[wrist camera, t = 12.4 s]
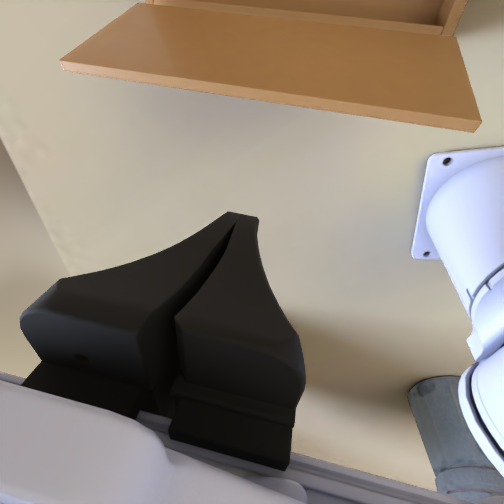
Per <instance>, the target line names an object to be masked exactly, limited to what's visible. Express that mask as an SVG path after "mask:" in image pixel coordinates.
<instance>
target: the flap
mask: <svg viewBox="0 0 504 504" xmlns="http://www.w3.org/2000/svg"><path fill="white" fill-rule="evenodd" d="M59 61H60V63H61V65H62V67H63V69H64V70H65V71H68V72H75V73H81V74H88V75H95V76H101V77H108V78H115V79H121V80H128V81H134V82H141V83H148V84H154V85H161V86H167V87H174V88H181V89H187V90H194V91H200V92H207V93H214V94H220V95H227V96H234V97H240V98H247V99H253V100H260V101H267V102H273V103H280V104H286V105H293V106H300V107H306V108H313V109H319V110H326V111H333V112H339V113H346V114H353V115H359V116H366V117H372V118H379V119H386V120H392V121H399V122H405V123H412V124H419V125H425V126H432V127H438V128H445V129H452V130H458V131H465V132H472V133H474V132H475V131H476V129H477V128H478V127H479V125H480V124H481V123H482V120H481V117H480V113H479V110H478V107H477V104H476V100H475V97H474V94H473V91H472V87H471V84H470V81H469V78H468V74H467V71H466V68H465V64H464V61H463V58H462V55H461V51H460V48H459V45H458V42H457V38H456V37H450V36H441V35H431V34H422V33H413V32H404V31H394V30H385V29H376V28H367V27H358V26H348V25H339V24H330V23H321V22H311V21H302V20H293V19H284V18H274V17H265V16H256V15H247V14H237V13H228V12H219V11H210V10H201V9H191V8H182V7H173V6H164V5H154V4H145V3H137V4H136V5H134V6H133V7H132V8H130V9H129V10H127V11H126V12H125V13H123V14H122V15H121V16H119V17H118V18H116V19H115V20H114V21H112V22H111V23H110V24H108V25H107V26H105V27H104V28H103V29H101V30H100V31H99V32H97V33H96V34H94V35H93V36H92V37H90V38H89V39H88V40H86V41H85V42H83V43H82V44H81V45H79V46H78V47H77V48H75V49H74V50H72V51H71V52H70V53H68V54H67V55H66V56H64V57H63V58H61V59H60V60H59Z"/></svg>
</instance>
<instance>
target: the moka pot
mask: <svg viewBox="0 0 504 504" xmlns="http://www.w3.org/2000/svg"><path fill="white" fill-rule="evenodd" d="M460 379H461V377H458V376H443V377H435V378H431V379H428V380H425V381H422V382H420V383H418V384H416V385H415V386H414V387H413V388H412V389H411V390H410V392H409V393H408V396H407V398H408V401H409V404H410V407H411V410H412V413H413V416H414V418H415V421H416V424H417V427H418V429H419V432H420V435H421V438H422V441H423V443H424V446H425V449H426V452H427V454H428V457H429V460H430V463H431V466H432V468H433V471H434V473H435V476H436V479H435V482H436V487H437V492H439V493H442V494H446V495H449V496H453V497H457V498H460V499H464V500H468V501H471V502H475V503H478V502H479V501H480V500H482V499H484V498H487V497H491V496H504V477H503V476H502V475H501V474H500V472H499V471H498V470H497V469H496V467H495V466H494V465H493V464H492V463H491V461H490V460H489V459H488V458H487V456H486V455H485V453H484V452H483V450H482V449H481V447H480V446H479V444H478V443H477V441H476V440H475V438H474V436H473V434H472V432H471V431H470V429H469V427H468V425H467V422H466V420H465V418H464V415H463V413H462V409H461V406H460V402H459V395H458V387H459V381H460Z"/></svg>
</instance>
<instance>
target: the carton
mask: <svg viewBox="0 0 504 504" xmlns="http://www.w3.org/2000/svg"><path fill="white" fill-rule="evenodd" d="M467 1H468V0H145V4H154V5H164V6H173V7H182V8H191V9H201V10H210V11H219V12H228V13H237V14H247V15H256V16H265V17H274V18H284V19H293V20H302V21H311V22H321V23H330V24H339V25H348V26H358V27H367V28H376V29H385V30H394V31H404V32H413V33H422V34H431V35H441V36H450V37H452V36H453V34H454V31H455V29H456V27H457V24H458V22H459V20H460V17H461V15H462V13H463V10H464V8H465V6H466V3H467Z"/></svg>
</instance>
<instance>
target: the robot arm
mask: <svg viewBox="0 0 504 504" xmlns="http://www.w3.org/2000/svg"><path fill="white" fill-rule="evenodd" d="M448 157H450V158H451V160H450V162H448V163H446V164H443V160H444V159H446V158H448ZM258 225H259V219H258V218H257V217H253V216H248V215H243V214H238V213H233V212H227V213H225V214H223V215H222V216H221V217H219V218H218V219H216V220H215V221H213V222H212V223H211V224H209V225H208V226H206V227H205V228H203V229H202V230H200V231H199V232H197V233H195V234H194V235H192V236H190V237H189V238H187V239H185V240H183V241H182V242H180V243H178V244H176V245H174V246H172V247H170V248H167V249H165V250H163V251H161V252H158V253H156V254H153V255H151V256H148V257H145V258H142V259H140V260H137V261H134V262H131V263H128V264H124V265H121V266H117V267H114V268H110V269H106V270H102V271H98V272H93V273H88V274H83V275H78V276H73V277H68V278H62V279H60V280H58V281H57V282H56V283H55V284H54V285H53V286H52V287H50V288H49V289H48V290H47V291H46V292H45V293H44V294H43V295H41V296H40V297H39V298H38V299H37V300H36V301H35V302H34V303H33V304H32V305H30V307H28V308H27V309H26V310H25V311H24V312H23V313H22V315H21V316H20V327H21V330H22V332H23V334H24V335H25V337H26V338H27V340H28V341H29V343H30V344H31V346H32V347H33V349H34V350H35V351H36V353H37V354H38V356H39V357H40V359H41V360H42V361H41V363H40V364H39V365H38V366H37V367H36V368H35V369H34V371H33V372H32V373H31V374H30V375H29V376H28V377H27V378H26V379H25V378H21V377H18V376H14V375H11V374H7V373H3V372H0V504H504V496H491V497H487V498H484V499H482V500H480V501H479V502H478V503H475V502H471V501H468V500H464V499H460V498H457V497H453V496H449V495H446V494H442V493H439V492H435V491H431V490H428V489H424V488H420V487H417V486H413V485H410V484H406V483H402V482H399V481H395V480H391V479H388V478H384V477H381V476H377V475H373V474H370V473H366V472H362V471H359V470H355V469H352V468H348V467H344V466H341V465H337V464H333V463H330V462H326V461H323V460H319V459H315V458H312V457H308V456H304V455H301V454H297V453H294V452H291V439H292V428H293V427H294V423H295V412H296V407H297V404H298V402H299V400H300V398H301V396H302V394H303V392H304V389H305V384H306V375H305V364H304V358H303V353H302V348H301V344H300V339H299V336H298V334H297V333H296V331H295V330H294V328H293V327H292V326H291V324H290V323H289V321H288V319H287V318H286V316H285V315H284V313H283V311H282V309H281V308H280V306H279V304H278V302H277V300H276V298H275V296H274V294H273V292H272V290H271V288H270V285H269V283H268V280H267V278H266V275H265V272H264V269H263V266H262V262H261V258H260V253H259V248H258V240H257V232H258ZM425 252H429V253H428V254H424V253H425ZM411 254H412V256H413V258H415V259H441V260H442V262H443V264H444V266H445V268H446V270H447V272H448V274H449V276H450V278H451V280H452V282H453V284H454V286H455V288H456V291H457V293H458V295H459V297H460V299H461V301H462V303H463V305H464V307H465V309H466V311H467V313H468V315H469V317H470V319H471V321H472V324H473V331H472V334H471V336H470V337H469V338H468V339H467V340H466V341H467V343H468V345H469V348H470V350H471V352H472V355H473V357H474V359H475V361H476V362H477V363H475V364H472V365H471V366H470V367H468V368H467V369H466V370H465V372H464V373H463V374H462V376H461V379H460V381H459V387H458V395H459V402H460V406H461V409H462V413H463V415H464V418H465V420H466V422H467V425H468V427H469V429H470V431H471V432H472V434H473V436H474V438H475V440H476V441H477V443H478V444H479V446H480V447H481V449H482V450H483V452H484V453H485V455H486V456H487V458H488V459H489V460H490V461H491V463H492V464H493V465H494V466H495V467H496V469H497V470H498V471H499V472H500V474H501V475H502V476H503V477H504V146H503V147H493V148H482V149H472V150H461V151H450V152H440V153H435V154H433V155H431V156H430V158H429V159H428V161H427V167H426V172H425V178H424V184H423V189H422V195H421V200H420V206H419V211H418V217H417V222H416V228H415V234H414V239H413V245H412V250H411Z"/></svg>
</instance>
